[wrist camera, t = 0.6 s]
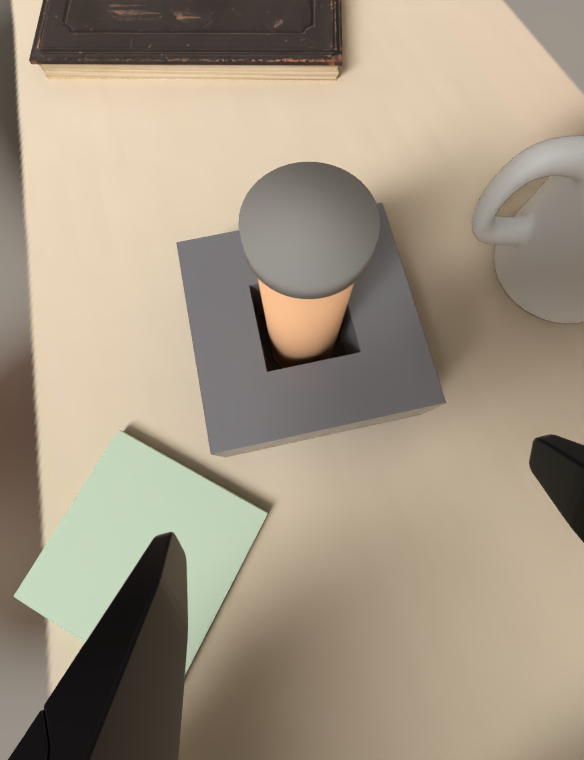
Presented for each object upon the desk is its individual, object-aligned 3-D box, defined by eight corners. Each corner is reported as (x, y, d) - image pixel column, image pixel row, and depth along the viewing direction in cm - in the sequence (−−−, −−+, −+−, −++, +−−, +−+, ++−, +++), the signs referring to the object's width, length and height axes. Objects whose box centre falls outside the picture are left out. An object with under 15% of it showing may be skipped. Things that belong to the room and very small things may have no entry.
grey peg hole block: (420, 414, 23) (445, 402, 19) (225, 457, 22) (210, 454, 18) (368, 243, 25) (382, 202, 22) (194, 278, 25) (176, 242, 21)
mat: (268, 512, 21) (267, 513, 21) (176, 692, 19) (172, 699, 19) (123, 431, 23) (118, 430, 22) (21, 592, 20) (13, 596, 20)
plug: (350, 328, 24) (402, 194, 12) (318, 390, 23) (342, 309, 11) (287, 298, 25) (280, 142, 13) (253, 357, 24) (212, 247, 12)
